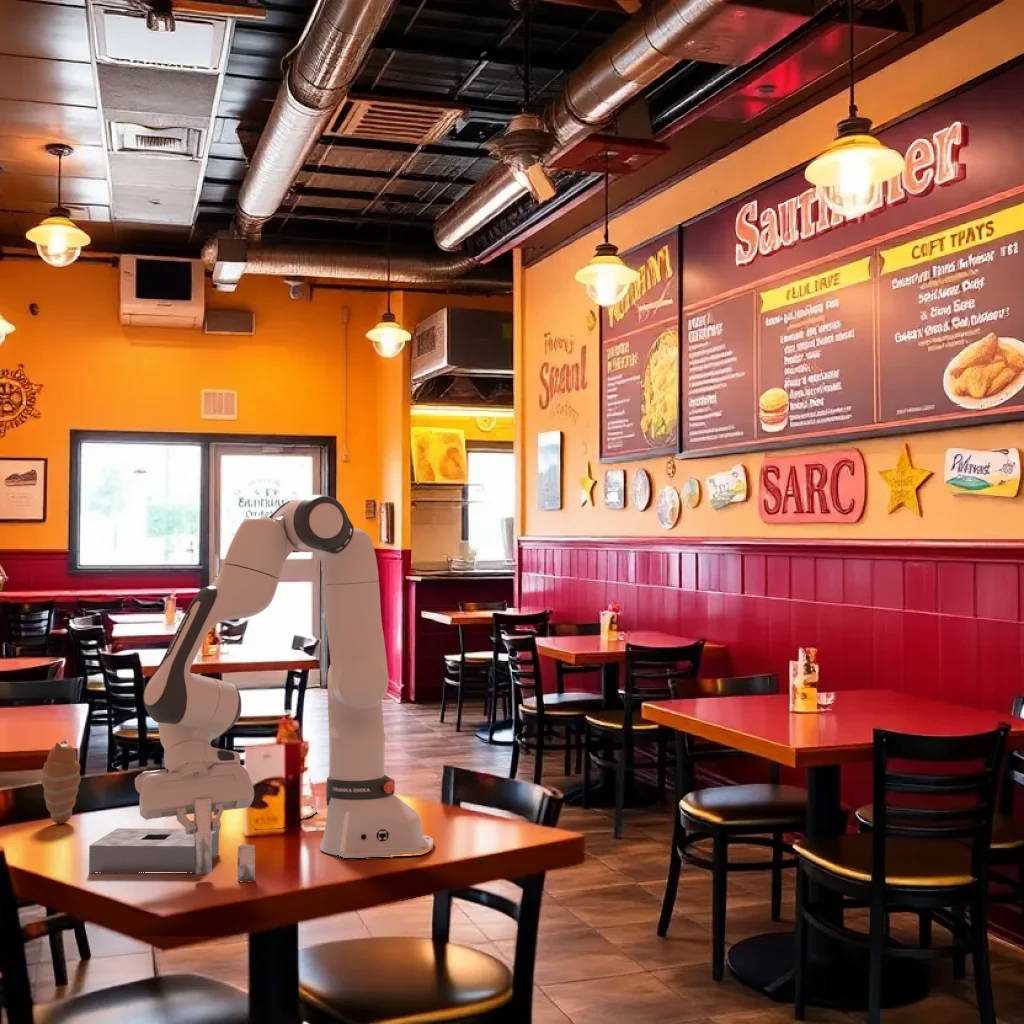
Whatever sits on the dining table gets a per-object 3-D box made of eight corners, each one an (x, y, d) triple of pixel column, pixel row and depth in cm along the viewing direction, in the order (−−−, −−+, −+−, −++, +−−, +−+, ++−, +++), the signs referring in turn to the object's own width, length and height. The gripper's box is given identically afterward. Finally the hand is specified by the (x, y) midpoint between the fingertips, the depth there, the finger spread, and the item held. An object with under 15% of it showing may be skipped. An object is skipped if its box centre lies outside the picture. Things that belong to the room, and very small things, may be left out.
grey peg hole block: (218, 854, 226) (218, 828, 226) (197, 873, 212) (197, 846, 212) (116, 854, 226) (117, 828, 227) (88, 873, 212) (89, 845, 213)
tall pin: (214, 869, 209) (213, 796, 209) (209, 874, 206) (208, 800, 206) (197, 869, 209) (197, 796, 209) (192, 874, 206) (192, 800, 206)
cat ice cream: (49, 819, 257) (50, 738, 258) (85, 819, 258) (86, 737, 258) (34, 828, 248) (36, 744, 249) (72, 828, 249) (73, 743, 250)
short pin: (256, 878, 209) (256, 844, 209) (252, 882, 206) (252, 848, 206) (240, 878, 209) (240, 844, 210) (235, 882, 206) (236, 848, 206)
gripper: (135, 762, 209) (146, 827, 200) (247, 751, 219) (262, 813, 210) (130, 783, 213) (141, 848, 204) (241, 772, 222) (256, 833, 213)
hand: (204, 830), depth 207 cm, fingers closed on tall pin, 3 cm apart
